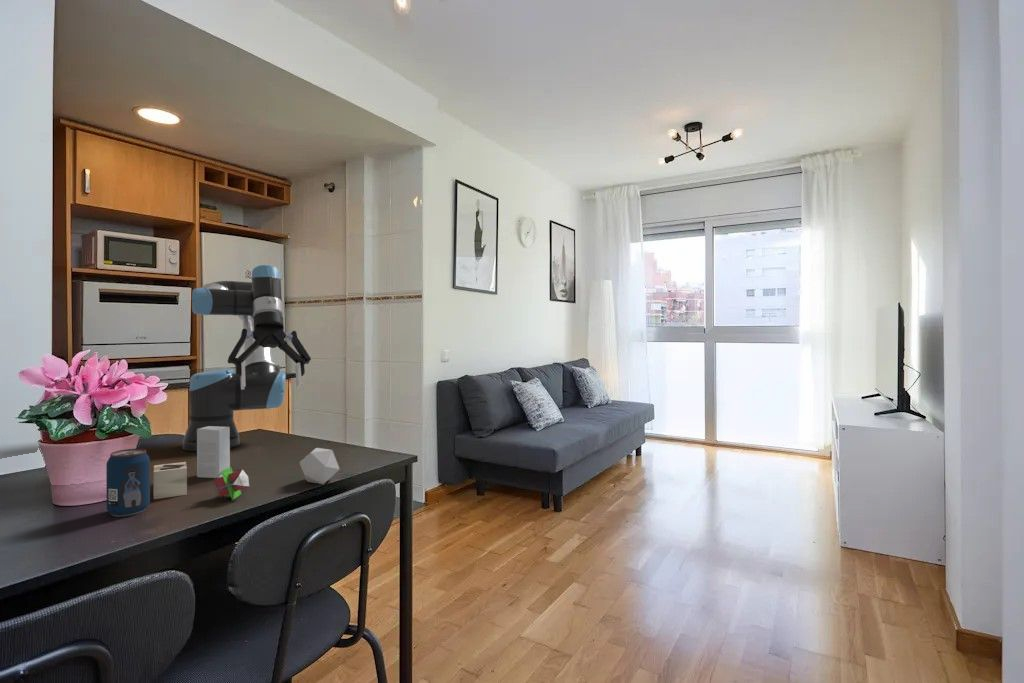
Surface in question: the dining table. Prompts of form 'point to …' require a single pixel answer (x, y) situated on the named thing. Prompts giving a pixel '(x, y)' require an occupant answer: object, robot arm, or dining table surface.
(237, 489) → the geometric puzzle
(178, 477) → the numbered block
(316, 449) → the die
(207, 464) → the skincare box
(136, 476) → the soda can
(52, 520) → the dining table surface
